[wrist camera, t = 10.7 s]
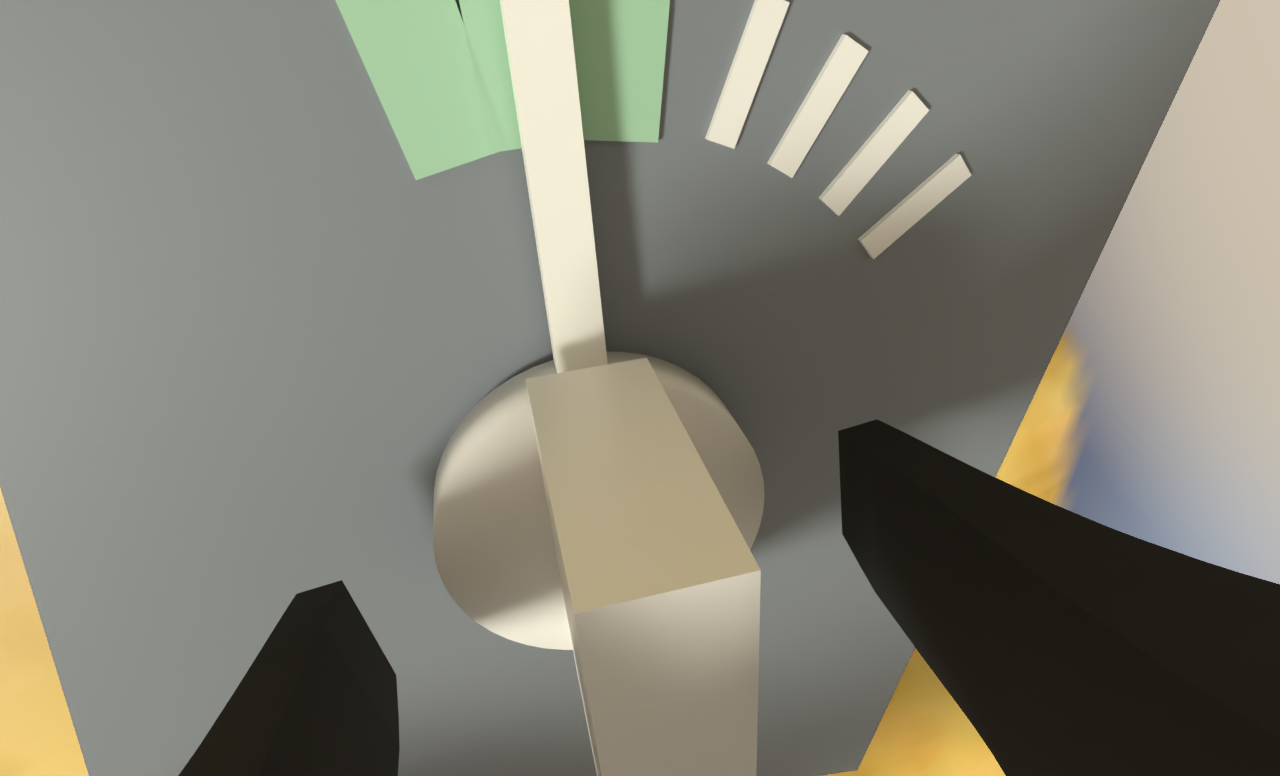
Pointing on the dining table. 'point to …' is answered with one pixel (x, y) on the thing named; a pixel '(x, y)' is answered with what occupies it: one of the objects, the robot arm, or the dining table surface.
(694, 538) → the knob
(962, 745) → the dining table surface
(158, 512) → the dial board
